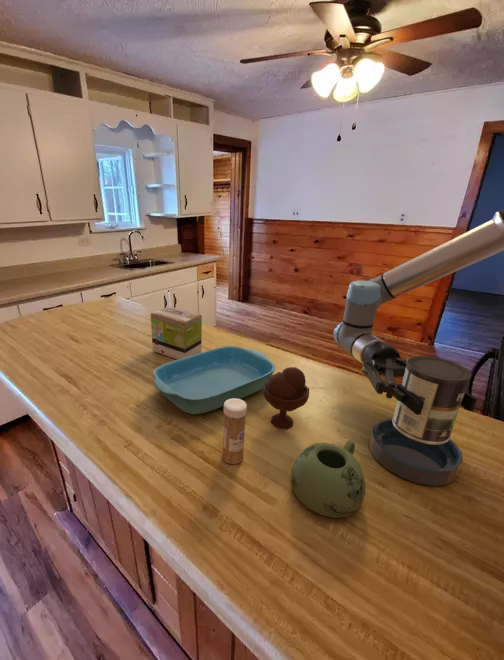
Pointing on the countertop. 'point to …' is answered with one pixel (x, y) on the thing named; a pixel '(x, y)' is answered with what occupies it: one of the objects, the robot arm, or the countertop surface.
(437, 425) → the coffee can
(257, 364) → the casserole dish
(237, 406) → the sprinkles bottle
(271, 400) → the ice cream bowl
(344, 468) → the green ceramic pot
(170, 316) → the tea box
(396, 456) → the dark blue round tray
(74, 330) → the countertop surface
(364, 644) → the countertop surface
